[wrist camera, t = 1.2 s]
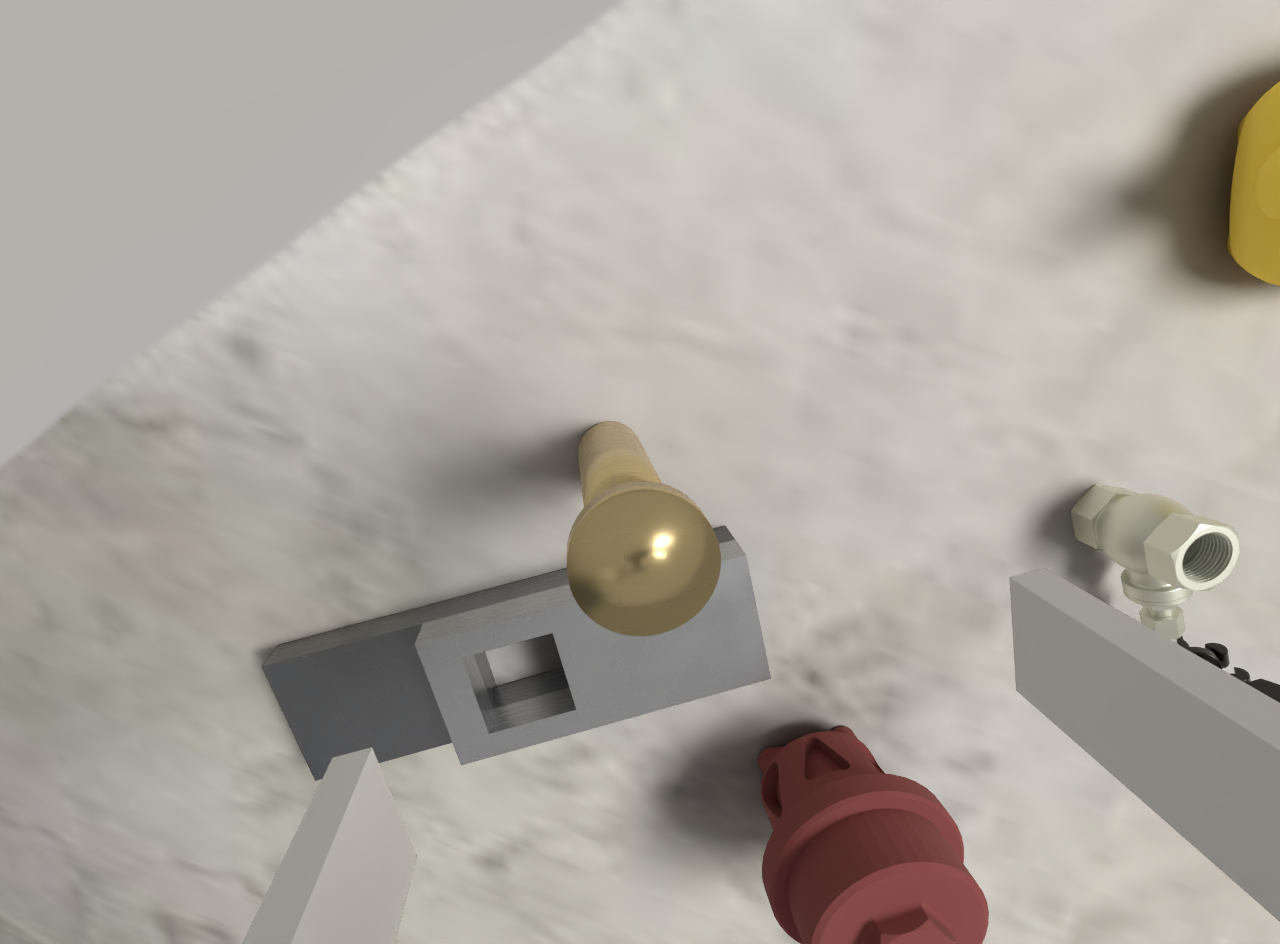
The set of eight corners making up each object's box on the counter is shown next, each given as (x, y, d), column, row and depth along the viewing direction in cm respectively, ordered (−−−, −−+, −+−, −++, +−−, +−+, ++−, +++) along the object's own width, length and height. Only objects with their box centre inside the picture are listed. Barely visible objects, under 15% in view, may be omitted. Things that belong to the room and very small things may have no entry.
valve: (1038, 504, 37) (1075, 671, 40) (1137, 548, 30) (1171, 742, 34) (1145, 458, 37) (1173, 629, 40) (1266, 493, 30) (1287, 692, 34)
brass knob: (577, 505, 33) (589, 653, 20) (553, 420, 32) (548, 516, 18) (663, 483, 34) (734, 613, 20) (643, 397, 32) (704, 475, 19)
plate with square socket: (328, 754, 35) (300, 810, 32) (278, 644, 33) (242, 690, 30) (748, 637, 37) (770, 678, 33) (725, 525, 35) (745, 554, 31)
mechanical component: (854, 838, 42) (707, 819, 40) (909, 705, 39) (757, 678, 37) (971, 1055, 30) (770, 1041, 28) (1060, 883, 27) (848, 856, 26)
